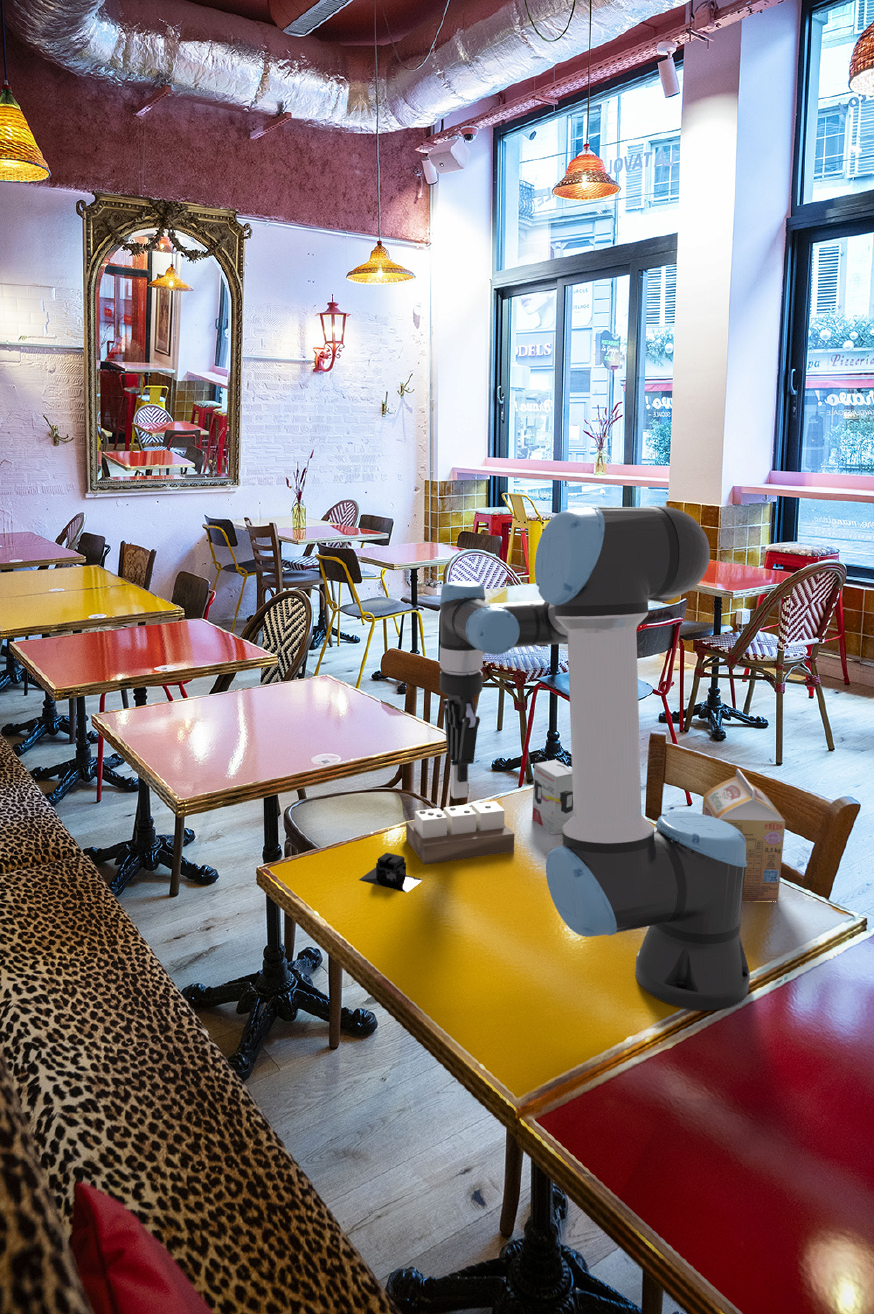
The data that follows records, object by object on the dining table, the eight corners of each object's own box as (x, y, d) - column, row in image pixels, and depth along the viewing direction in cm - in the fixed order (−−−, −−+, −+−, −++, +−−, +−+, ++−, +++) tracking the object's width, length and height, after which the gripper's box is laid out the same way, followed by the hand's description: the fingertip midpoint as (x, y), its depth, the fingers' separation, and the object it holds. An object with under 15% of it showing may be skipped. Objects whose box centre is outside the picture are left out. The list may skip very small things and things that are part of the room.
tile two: (475, 837, 172) (476, 813, 171) (451, 840, 171) (452, 816, 170) (467, 827, 176) (467, 804, 175) (443, 830, 175) (443, 807, 174)
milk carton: (777, 903, 153) (788, 791, 149) (711, 900, 154) (719, 789, 150) (760, 873, 163) (769, 769, 159) (698, 871, 164) (705, 767, 160)
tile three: (447, 841, 170) (447, 816, 169) (422, 844, 169) (422, 820, 168) (438, 831, 175) (439, 807, 174) (414, 834, 173) (414, 810, 172)
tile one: (504, 833, 174) (504, 809, 173) (480, 836, 172) (480, 812, 171) (494, 823, 178) (495, 800, 177) (471, 826, 177) (471, 803, 176)
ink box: (531, 819, 186) (532, 762, 184) (552, 815, 188) (554, 758, 186) (554, 835, 179) (556, 776, 176) (576, 831, 181) (578, 772, 178)
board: (514, 851, 172) (514, 833, 171) (424, 864, 166) (424, 845, 166) (491, 828, 182) (491, 811, 181) (406, 839, 176) (406, 821, 176)
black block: (348, 882, 160) (348, 857, 159) (372, 866, 167) (371, 842, 166) (412, 900, 155) (412, 874, 154) (434, 882, 161) (434, 857, 160)
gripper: (495, 677, 162) (491, 807, 167) (468, 659, 174) (466, 781, 179) (453, 680, 159) (451, 812, 165) (429, 662, 171) (428, 785, 177)
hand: (459, 796), depth 172 cm, fingers closed
